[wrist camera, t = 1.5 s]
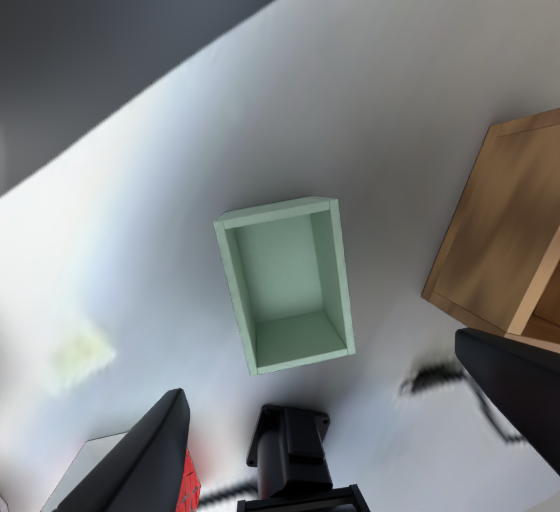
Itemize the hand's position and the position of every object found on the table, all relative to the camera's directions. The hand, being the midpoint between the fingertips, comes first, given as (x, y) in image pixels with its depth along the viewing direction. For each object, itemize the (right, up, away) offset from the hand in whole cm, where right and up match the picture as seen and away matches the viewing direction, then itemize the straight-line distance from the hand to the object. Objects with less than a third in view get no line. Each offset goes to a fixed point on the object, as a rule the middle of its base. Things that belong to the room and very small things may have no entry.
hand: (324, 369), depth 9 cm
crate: (+18, +5, +14) cm, 23 cm away
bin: (-1, +3, +12) cm, 13 cm away
